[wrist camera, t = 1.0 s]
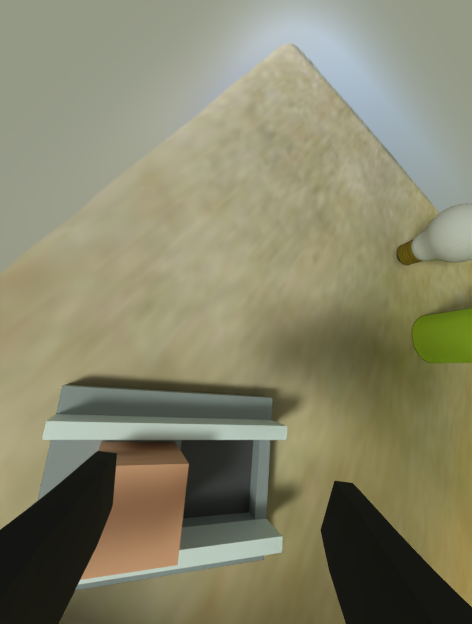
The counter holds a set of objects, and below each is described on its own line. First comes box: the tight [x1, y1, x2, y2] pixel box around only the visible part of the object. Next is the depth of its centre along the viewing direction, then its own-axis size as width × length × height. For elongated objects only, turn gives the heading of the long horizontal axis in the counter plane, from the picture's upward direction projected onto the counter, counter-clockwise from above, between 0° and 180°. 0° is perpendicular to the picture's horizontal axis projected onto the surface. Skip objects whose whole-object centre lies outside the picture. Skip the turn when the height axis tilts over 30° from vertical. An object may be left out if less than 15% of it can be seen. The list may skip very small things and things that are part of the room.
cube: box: [80, 442, 189, 580], centre depth 17 cm, size 5×5×5 cm
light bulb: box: [397, 204, 472, 265], centre depth 31 cm, size 6×6×10 cm
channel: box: [38, 384, 287, 590], centre depth 20 cm, size 12×16×4 cm
